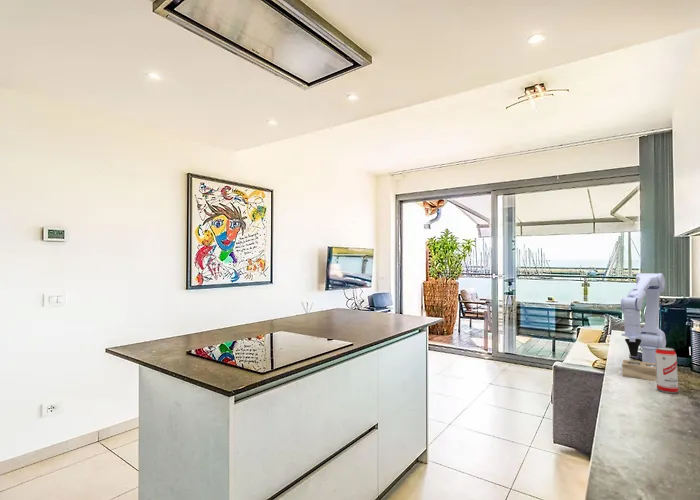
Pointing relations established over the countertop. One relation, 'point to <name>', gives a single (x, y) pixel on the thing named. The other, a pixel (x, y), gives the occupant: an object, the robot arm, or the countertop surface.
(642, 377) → the housing
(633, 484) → the countertop surface
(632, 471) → the countertop surface
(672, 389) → the beer can
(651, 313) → the robot arm
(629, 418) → the countertop surface
